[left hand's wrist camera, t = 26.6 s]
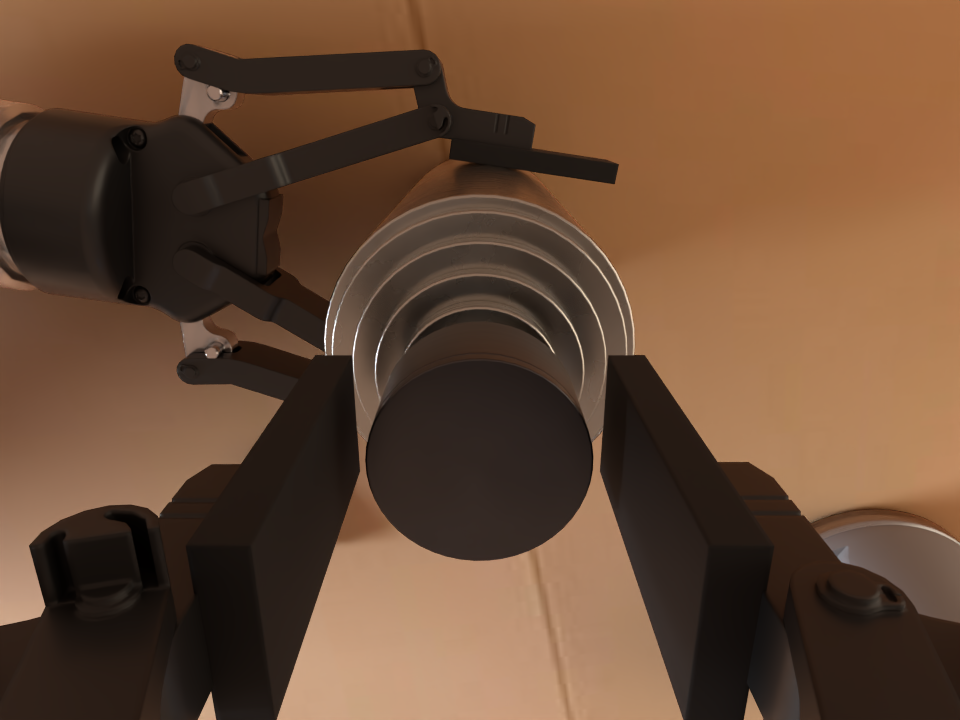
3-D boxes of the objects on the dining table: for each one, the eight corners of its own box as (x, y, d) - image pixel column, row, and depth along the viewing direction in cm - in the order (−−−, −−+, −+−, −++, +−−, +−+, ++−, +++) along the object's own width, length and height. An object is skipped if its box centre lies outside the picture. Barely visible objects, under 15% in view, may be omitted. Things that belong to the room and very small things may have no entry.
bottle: (549, 321, 36) (652, 631, 15) (395, 307, 36) (266, 602, 14) (570, 162, 34) (739, 251, 12) (403, 145, 33) (258, 206, 11)
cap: (615, 386, 14) (639, 435, 12) (507, 528, 15) (511, 595, 13) (447, 282, 13) (442, 314, 11) (347, 440, 15) (324, 495, 12)
